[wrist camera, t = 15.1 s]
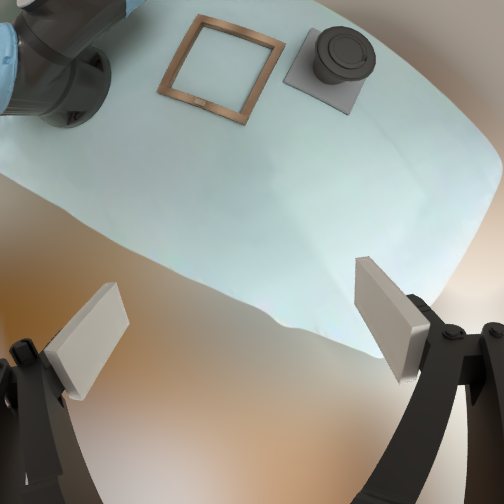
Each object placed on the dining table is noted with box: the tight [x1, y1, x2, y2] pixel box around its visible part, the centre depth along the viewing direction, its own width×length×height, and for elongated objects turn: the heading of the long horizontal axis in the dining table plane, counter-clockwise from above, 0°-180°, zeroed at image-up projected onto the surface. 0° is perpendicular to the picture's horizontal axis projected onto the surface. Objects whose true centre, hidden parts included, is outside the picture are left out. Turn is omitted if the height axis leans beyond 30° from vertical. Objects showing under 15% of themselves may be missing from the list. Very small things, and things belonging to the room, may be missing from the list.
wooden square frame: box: [157, 14, 286, 125], centre depth 37 cm, size 14×14×3 cm
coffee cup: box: [313, 26, 376, 85], centre depth 33 cm, size 8×8×10 cm
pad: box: [283, 28, 366, 115], centre depth 38 cm, size 11×11×1 cm
